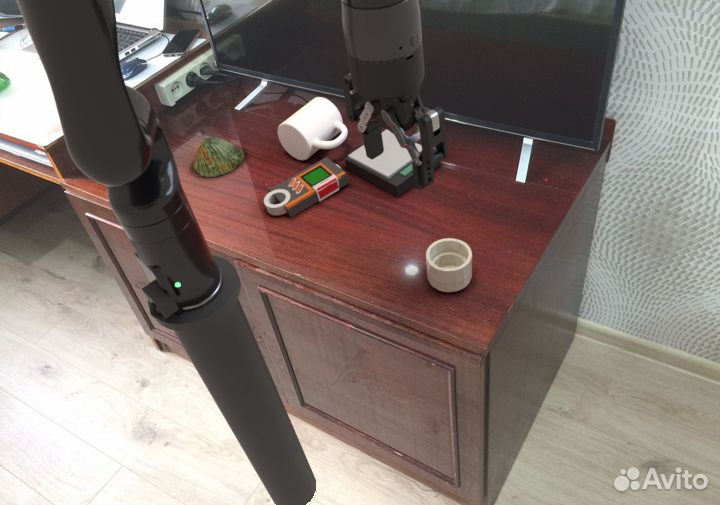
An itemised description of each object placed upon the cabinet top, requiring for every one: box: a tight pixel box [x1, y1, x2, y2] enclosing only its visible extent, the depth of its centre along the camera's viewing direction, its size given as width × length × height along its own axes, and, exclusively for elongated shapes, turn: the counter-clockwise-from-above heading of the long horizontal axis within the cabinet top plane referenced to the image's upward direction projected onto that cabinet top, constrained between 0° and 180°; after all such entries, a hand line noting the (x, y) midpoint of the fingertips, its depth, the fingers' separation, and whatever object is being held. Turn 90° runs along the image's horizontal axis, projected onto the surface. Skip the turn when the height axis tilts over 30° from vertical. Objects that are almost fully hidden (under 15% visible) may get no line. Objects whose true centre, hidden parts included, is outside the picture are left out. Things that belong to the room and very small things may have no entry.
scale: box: [344, 128, 441, 198], centre depth 106 cm, size 11×13×3 cm
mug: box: [277, 96, 349, 161], centre depth 111 cm, size 12×10×8 cm
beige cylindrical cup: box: [425, 237, 473, 293], centre depth 85 cm, size 6×6×5 cm
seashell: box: [192, 136, 245, 178], centre depth 114 cm, size 10×4×10 cm
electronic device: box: [263, 156, 350, 218], centre depth 104 cm, size 7×3×15 cm
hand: (398, 170), depth 69 cm, fingers open, 8 cm apart
